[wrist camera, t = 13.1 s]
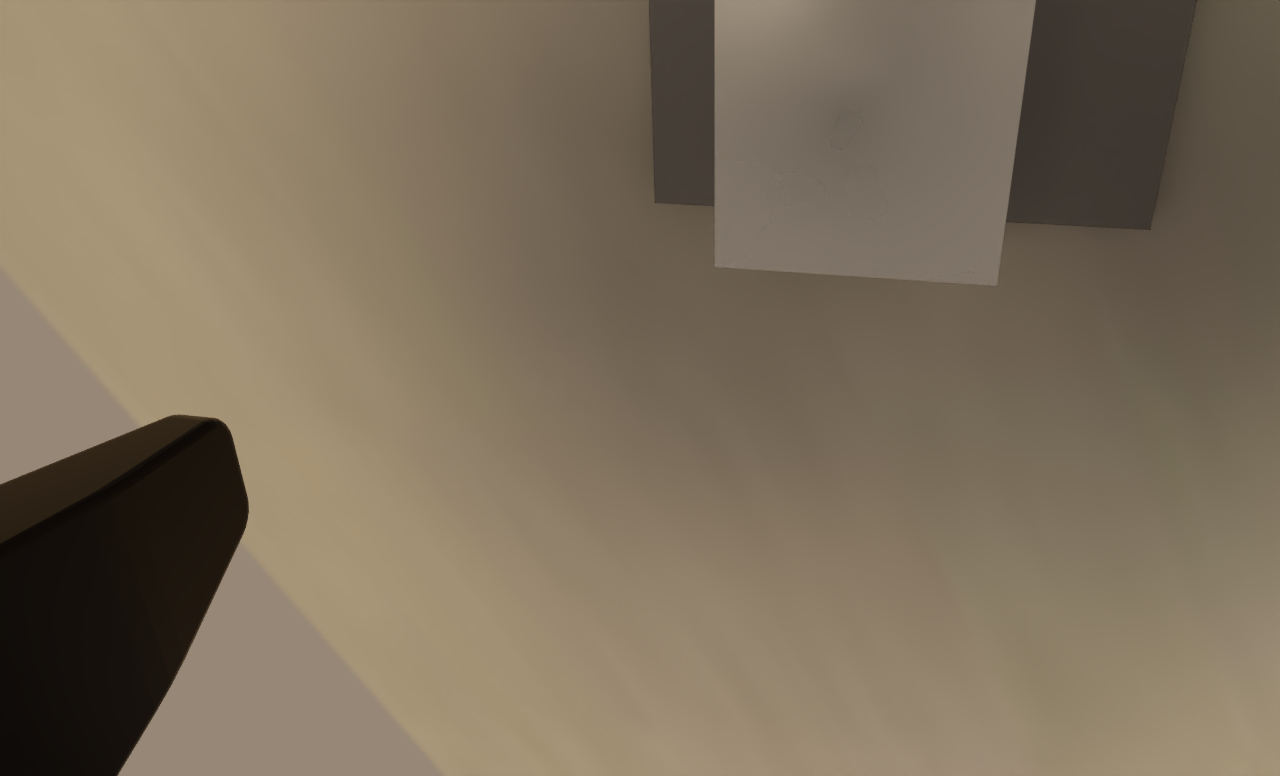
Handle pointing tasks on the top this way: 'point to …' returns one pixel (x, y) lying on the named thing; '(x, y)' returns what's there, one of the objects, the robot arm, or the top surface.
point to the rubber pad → (1049, 121)
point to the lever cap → (867, 135)
